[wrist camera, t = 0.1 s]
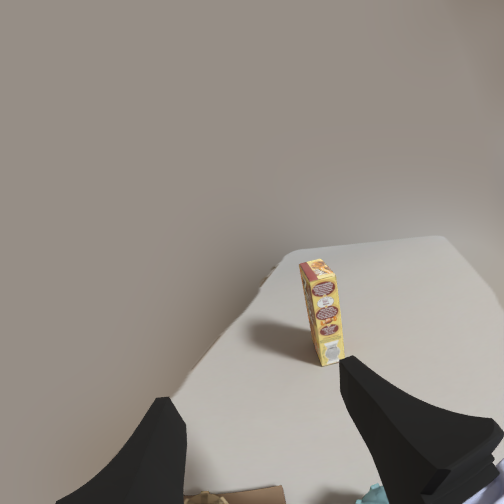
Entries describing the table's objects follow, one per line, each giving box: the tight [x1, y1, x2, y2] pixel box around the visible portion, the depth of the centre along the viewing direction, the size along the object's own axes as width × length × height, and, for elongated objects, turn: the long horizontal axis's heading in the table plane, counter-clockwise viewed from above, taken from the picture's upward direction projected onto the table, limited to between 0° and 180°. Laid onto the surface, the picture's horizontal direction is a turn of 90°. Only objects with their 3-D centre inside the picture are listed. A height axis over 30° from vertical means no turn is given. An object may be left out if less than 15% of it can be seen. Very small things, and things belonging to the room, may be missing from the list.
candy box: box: [299, 259, 345, 366], centre depth 44 cm, size 9×4×15 cm, turn 2°
